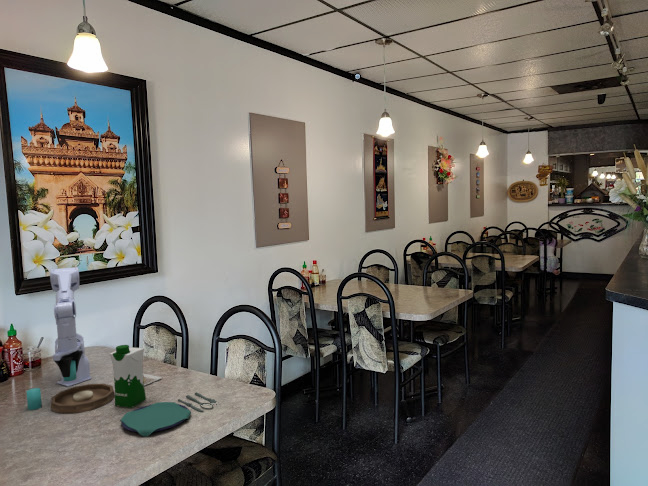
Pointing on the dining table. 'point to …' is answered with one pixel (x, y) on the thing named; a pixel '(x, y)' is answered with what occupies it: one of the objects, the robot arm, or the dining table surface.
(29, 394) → the bead
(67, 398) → the groove tray
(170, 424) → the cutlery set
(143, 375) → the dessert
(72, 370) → the teal upright block
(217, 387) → the dining table surface
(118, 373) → the milk carton
